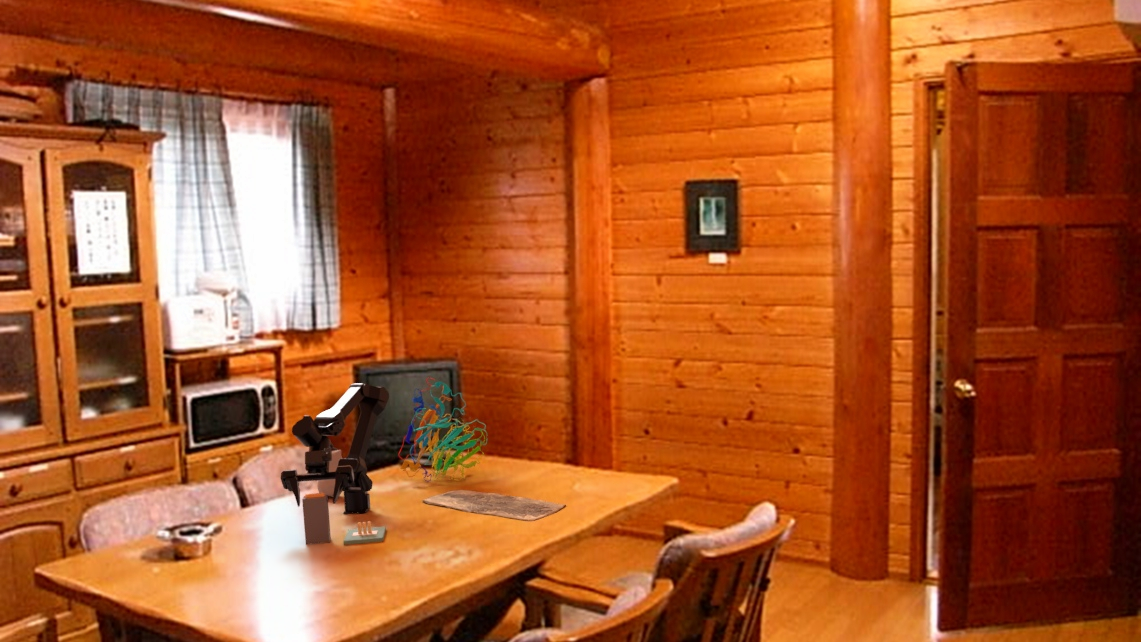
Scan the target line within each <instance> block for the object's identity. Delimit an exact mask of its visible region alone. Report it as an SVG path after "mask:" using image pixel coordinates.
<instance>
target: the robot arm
mask: <svg viewBox="0 0 1141 642" xmlns="http://www.w3.org/2000/svg"><path fill="white" fill-rule="evenodd" d="M389 399H390V392H389V391H388V390H387V389H386V387H385V386H375V385H370V384H368V383H365V382H361V383H360V382H359V383H358V382H357V383H356V382H355V383H352V384H350V385H349V387H348V389H347V390H346V391H345V393H344V394H343V395H342V396H341V397H340V398H339V399H338V400H337V402H335V404H334V405H333V406H332V407H331V408H330V409H326V410H325V411H322V412H321V413H319V414H318V415H316V416H315V417H314V419H313V418H312V416H311V415H303V417H302V418H301V419H299V420H298V421H296V422H295V424H293V426H292V428H291V433H292V435H293V436H294V437H295V438H296V439H297V440H298V441H299V442H300V443H301V444H302V446H304V447H308V451H305V452H304V465H305V471H306V472H307V473H298V471H297V469H296V468H294V469H293V468H292V469H283V470H282V472H281V473H280V480H281V481H280V482H281V484H282V487H283V489H284V490H288V492H292V493H293V495H294V498H295V501H296V504H297V507H298V508H299V507H300V505H301V489H300V482H310V481H311V482H312V481H313V482H314V481H315V482H318V481H320V480H334V479H335V487H334V494H333V496H332V504H334V505H335V504H336V502H337V501H338V499H339V498H340V496H341V494H342V493H343V502H344V511H343V514H345V515H347V514H350V515H351V514H366V512H367V511H368V510H370V508H371V497H370V493H369V492H370V491H371V490H372V489H373V482H374V481H373V480H372V479H371V478H370V477H369V475H368V467H367V465H366V460H365V459H366V456H367V453H368V452H367V451H368V450H369V445H370V443H371V442H370V441H371V439H372V435H373V431H374V428H375V426H376V421H377V418H378V416H379V415H380V414H381V413H382V412H383V411H384V410H385V408H386V407H387V404H388V402H389ZM357 406H359V408H360V409H359V410H360V414H359V417H358V421H357V425H356V428H355V431H354V434H353V437H352V440H351V445H350V448H349V450H348V451H349V452H348V454H347V456H346V457H345V458H342V459H340V460H339V462H338V466H337V469H336V472H329V462H330V461H332V450H331V448H333V447H334V444H333V443H332V442H331V441H332V440H331V439H330V438H329V437H330V436H331V437H334V436H335V437H337V436H339V435H340V434H341V433H342V431H343V430H344V428H345V426H346V419H347V418H348V417H349V415H350V414H351V413H352V412H353V410H355V408H356V407H357ZM334 448H335V447H334Z"/></svg>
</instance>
